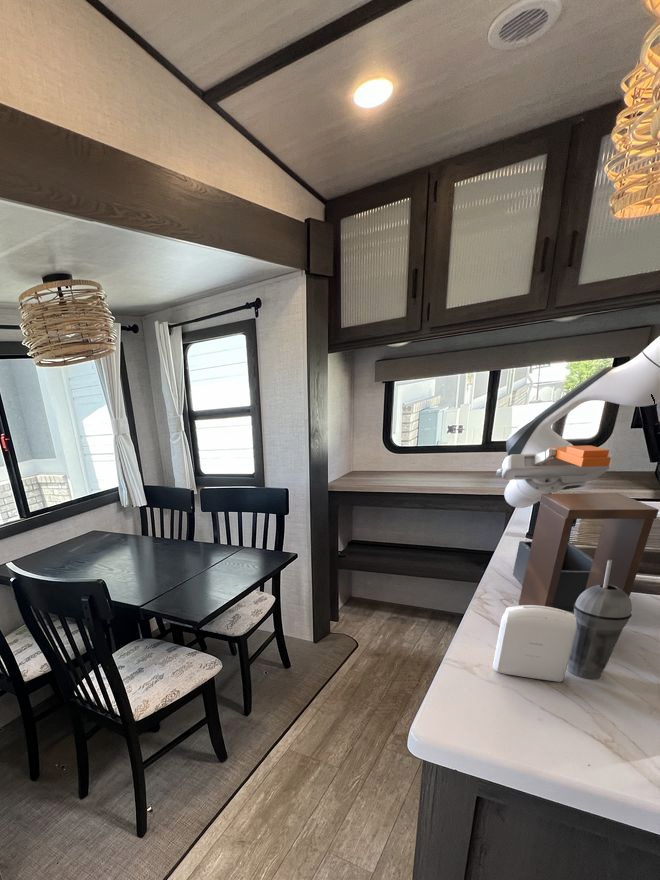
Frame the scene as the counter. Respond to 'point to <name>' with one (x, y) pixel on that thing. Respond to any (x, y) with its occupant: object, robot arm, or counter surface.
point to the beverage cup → (598, 627)
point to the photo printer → (535, 642)
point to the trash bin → (570, 576)
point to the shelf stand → (617, 543)
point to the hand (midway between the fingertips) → (569, 451)
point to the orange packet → (583, 455)
